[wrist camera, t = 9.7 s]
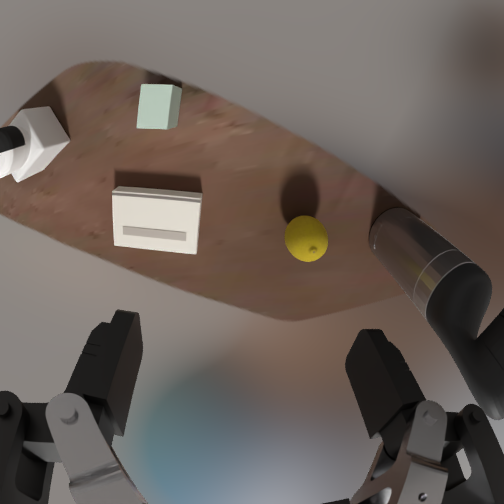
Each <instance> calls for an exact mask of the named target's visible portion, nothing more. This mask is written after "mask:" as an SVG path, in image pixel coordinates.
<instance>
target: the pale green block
mask: <svg viewBox="0 0 504 504" xmlns="http://www.w3.org/2000/svg"><path fill="white" fill-rule="evenodd" d="M181 93H182V89H181V88H179V87H177V86H174V85H164V84H142V85H141V92H140V100H139V109H138V118H137V128H148V129H170V128H173V127H177V124H178V116H179V108H180V100H181Z"/></svg>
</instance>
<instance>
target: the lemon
mask: <svg viewBox="0 0 504 504" xmlns="http://www.w3.org/2000/svg"><path fill="white" fill-rule="evenodd" d="M285 243H286V246H287V248H288V250H289V251H290V253H291V254H292V255H293V256H294V257H296V258H297V259H299V260H302V261H307V262H310V261H314V260H317V259H319V258H320V257H321V256H322V255H323V254H324V253H325V251H326V249H327V245H328V236H327V232H326V230H325V228H324V226H323V225H322V223H320V222H319V221H318V220H317V219H315V218H313V217H311V216H299V217H296V218H294V219H293V220H292V221H291V222H290V223H289V224H288V226H287V228H286V230H285Z"/></svg>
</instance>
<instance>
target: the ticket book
mask: <svg viewBox="0 0 504 504" xmlns="http://www.w3.org/2000/svg"><path fill="white" fill-rule="evenodd" d="M202 194H203V193H196V192H186V191H175V190H164V189H152V188H138V187H124V186H118V187H117V188H116V189H114V190H113V191H112V203H113V231H114V245H115V246H124V247H133V248H142V249H151V250H160V251H169V252H178V253H187V254H196V252H197V248H198V238H199V226H200V215H201V204H202Z"/></svg>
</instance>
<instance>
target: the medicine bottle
mask: <svg viewBox="0 0 504 504" xmlns="http://www.w3.org/2000/svg"><path fill="white" fill-rule="evenodd" d="M69 142H70V139H69V137H68V136H67V134H66V132H65V131H64V129H63V128H62V126H61V124H60V123H59V121H58V119H57V118H56V116H55V114H54V113H53V111H52V109H51V108H50V107H49V106H47V107H38V108H30V109H22V110H21V111H20V112H19V113H18V114H17V116H16V117H15V118H14V120H13V121H12V122H11V124H10V125H9V126H7V127H3V128H0V178H2V177H4V176H6V175H8V174H12V175H13V177H14V179H15V180H16V182H20V181H21V180H23V179H26V178H28V177H30V176H32V175H34V174H36V173H38V172H40V171H42V170H44V169H45V168H46V167H47V165H48V164H49V163H50V162H51V161H52V160H53V159H54V158H55V157H56V155H57V154H58V153H59V152H60V151H61V150H62V149H63V148H64V147H65V146H66V145H67V144H68V143H69Z"/></svg>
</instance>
